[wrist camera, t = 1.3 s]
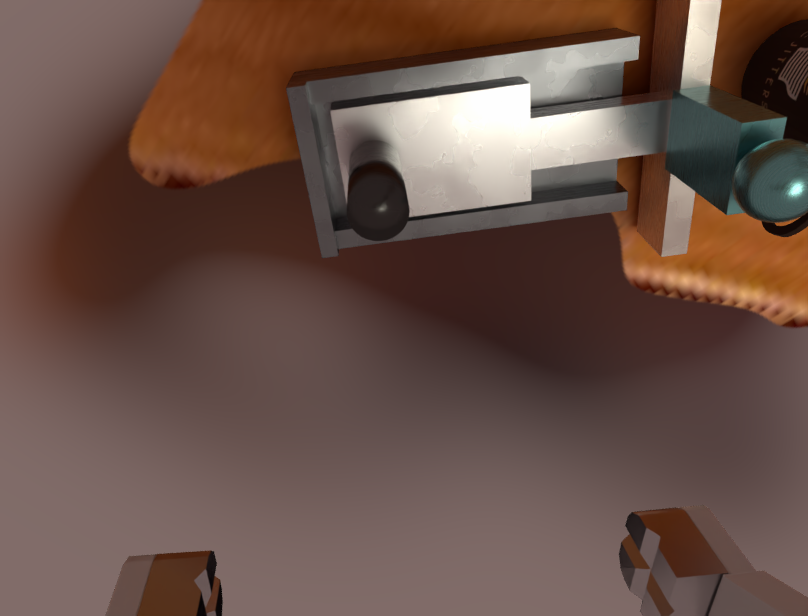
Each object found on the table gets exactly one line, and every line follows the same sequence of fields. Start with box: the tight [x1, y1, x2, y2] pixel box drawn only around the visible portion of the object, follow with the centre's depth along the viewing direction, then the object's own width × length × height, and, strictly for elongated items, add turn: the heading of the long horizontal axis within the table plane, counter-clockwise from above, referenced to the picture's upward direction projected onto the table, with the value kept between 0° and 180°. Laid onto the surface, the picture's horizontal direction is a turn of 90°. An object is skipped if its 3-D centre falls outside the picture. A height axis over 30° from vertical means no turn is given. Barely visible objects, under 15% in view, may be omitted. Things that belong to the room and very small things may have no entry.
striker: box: [330, 0, 808, 257], centre depth 31 cm, size 21×16×15 cm
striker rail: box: [286, 28, 640, 258], centre depth 36 cm, size 19×10×4 cm, turn 97°
